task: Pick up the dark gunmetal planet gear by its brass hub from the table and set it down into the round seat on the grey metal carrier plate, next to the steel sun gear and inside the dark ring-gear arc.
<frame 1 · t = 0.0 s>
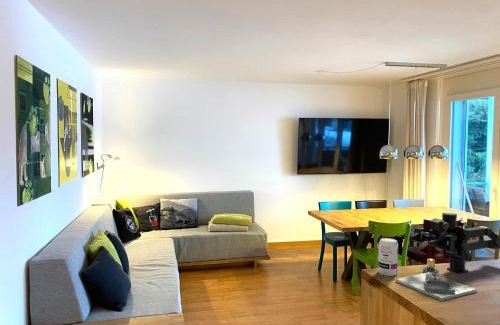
hand: (419, 240, 169), 17 cm above the kitchen counter, tool horizontal, fingers open, 9 cm apart
carrier: (434, 286, 161), on the kitchen counter
planet gear: (430, 272, 178), on the kitchen counter
supplement can: (387, 273, 177), on the kitchen counter
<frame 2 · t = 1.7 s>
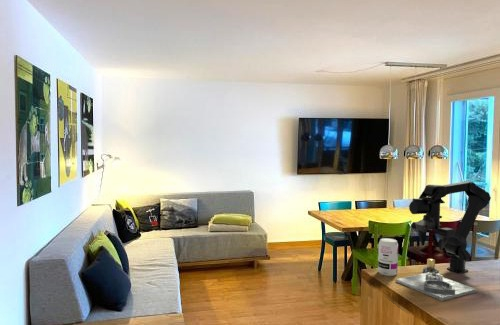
hand: (431, 247, 177), 11 cm above the kitchen counter, tool pointing down, fingers open, 9 cm apart
nothing on the kitchen counter moved.
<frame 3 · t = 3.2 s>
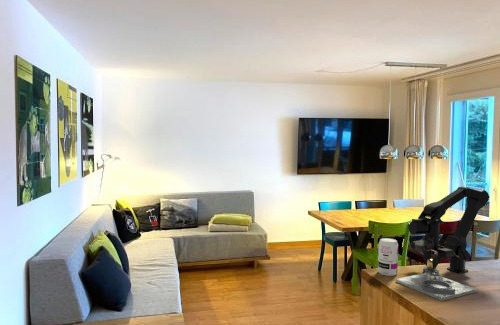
hand: (430, 267, 178), 2 cm above the kitchen counter, tool pointing down, fingers closed on planet gear, 3 cm apart
planet gear: (430, 272, 178), on the kitchen counter, touching gripper
everything else where it was.
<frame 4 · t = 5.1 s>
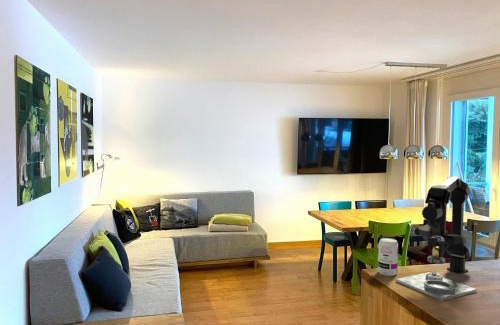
hand: (436, 256, 160), 13 cm above the kitchen counter, tool pointing down, fingers closed on planet gear, 3 cm apart
planet gear: (436, 261, 160), point 10 cm above the kitchen counter, touching gripper
everything else where it was.
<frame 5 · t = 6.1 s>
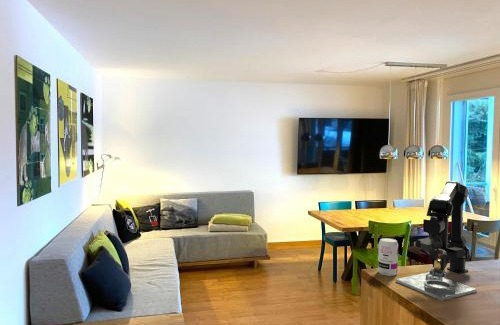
hand: (438, 269, 157), 8 cm above the kitchen counter, tool pointing down, fingers closed on planet gear, 3 cm apart
planet gear: (438, 274, 157), point 6 cm above the kitchen counter, touching gripper
everything else where it was.
when the fingers open (5 cm above the kitchen counter, at t = 7.0 s): planet gear drops 1 cm, resting on carrier.
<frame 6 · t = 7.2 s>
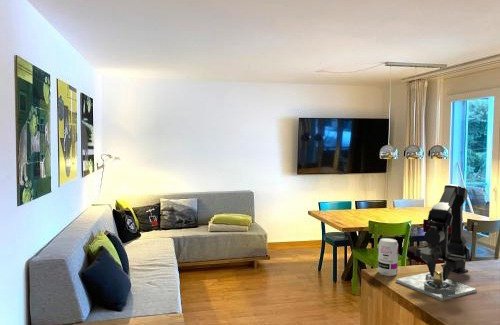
hand: (438, 278, 157), 5 cm above the kitchen counter, tool pointing down, fingers open, 5 cm apart
planet gear: (437, 287, 158), point 1 cm above the kitchen counter, touching carrier
everything else where it was.
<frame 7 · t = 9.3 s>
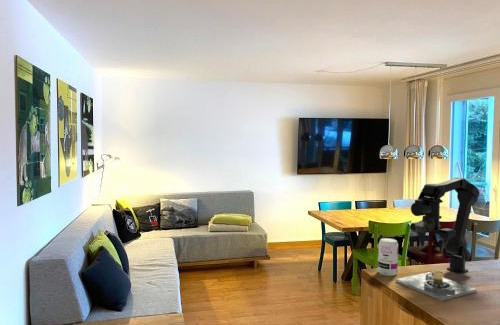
hand: (431, 249, 172), 12 cm above the kitchen counter, tool pointing down, fingers open, 9 cm apart
nothing on the kitchen counter moved.
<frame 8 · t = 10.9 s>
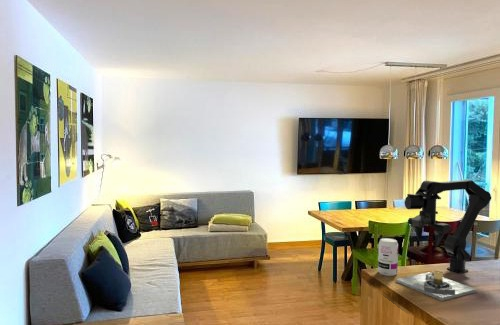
hand: (427, 243, 179), 13 cm above the kitchen counter, tool pointing down, fingers open, 9 cm apart
nothing on the kitchen counter moved.
at the end: planet gear 0.0 cm from the target spot on the carrier, point 1.2 cm above the carrier's base; planet gear tilted 0°; the gripper is holding nothing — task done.
